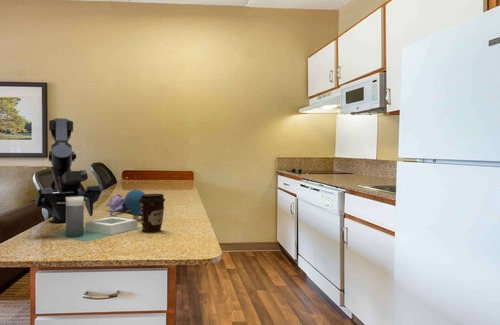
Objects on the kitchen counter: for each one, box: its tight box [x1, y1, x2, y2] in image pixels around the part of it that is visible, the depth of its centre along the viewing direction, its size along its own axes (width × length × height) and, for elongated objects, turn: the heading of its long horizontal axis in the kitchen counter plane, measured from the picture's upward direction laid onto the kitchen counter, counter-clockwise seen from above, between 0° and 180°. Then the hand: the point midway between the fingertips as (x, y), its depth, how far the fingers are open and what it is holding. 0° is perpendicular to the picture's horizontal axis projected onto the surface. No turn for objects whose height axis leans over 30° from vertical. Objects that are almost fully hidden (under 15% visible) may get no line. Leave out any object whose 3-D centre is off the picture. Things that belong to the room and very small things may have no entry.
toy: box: [104, 194, 165, 217], centre depth 172 cm, size 26×9×30 cm
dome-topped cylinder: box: [65, 196, 85, 238], centre depth 123 cm, size 5×5×12 cm
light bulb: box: [124, 189, 146, 221], centre depth 155 cm, size 8×8×12 cm
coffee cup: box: [139, 193, 166, 234], centre depth 132 cm, size 9×8×13 cm
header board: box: [49, 216, 142, 243], centre depth 130 cm, size 16×24×4 cm, turn 153°
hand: (76, 217), depth 122 cm, fingers open, 9 cm apart
